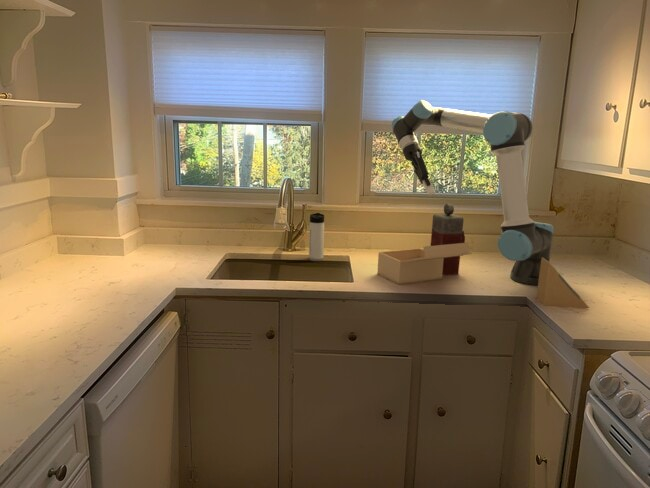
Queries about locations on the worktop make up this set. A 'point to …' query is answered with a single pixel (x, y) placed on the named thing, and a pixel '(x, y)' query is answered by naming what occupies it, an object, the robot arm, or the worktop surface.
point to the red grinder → (448, 236)
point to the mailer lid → (443, 251)
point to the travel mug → (316, 237)
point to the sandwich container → (556, 289)
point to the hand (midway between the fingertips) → (431, 193)
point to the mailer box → (408, 266)
